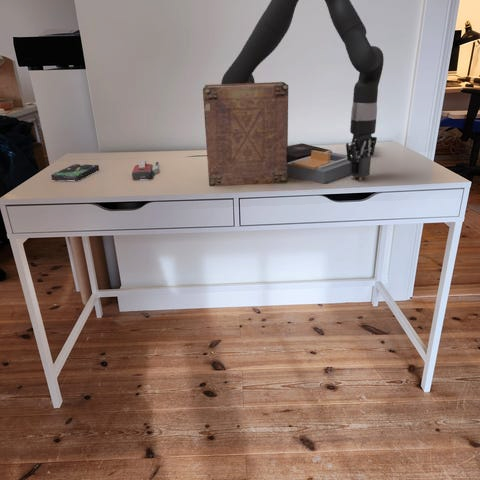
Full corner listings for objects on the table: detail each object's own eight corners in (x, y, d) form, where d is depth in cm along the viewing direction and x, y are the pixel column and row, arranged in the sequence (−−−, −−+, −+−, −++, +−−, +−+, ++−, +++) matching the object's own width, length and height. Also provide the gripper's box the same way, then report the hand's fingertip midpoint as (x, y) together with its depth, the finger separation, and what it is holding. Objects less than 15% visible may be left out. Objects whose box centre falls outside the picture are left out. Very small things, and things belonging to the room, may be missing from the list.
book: (208, 186, 141) (201, 87, 128) (209, 178, 149) (203, 84, 137) (287, 183, 141) (288, 84, 128) (284, 175, 149) (285, 81, 137)
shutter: (292, 165, 145) (292, 155, 143) (310, 159, 151) (311, 149, 149) (314, 169, 139) (314, 159, 137) (332, 163, 145) (333, 153, 143)
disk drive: (75, 171, 166) (51, 182, 153) (74, 164, 165) (50, 174, 152) (100, 171, 164) (78, 183, 151) (99, 164, 163) (76, 175, 150)
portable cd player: (300, 152, 180) (300, 143, 178) (330, 160, 167) (330, 150, 165) (268, 159, 172) (268, 149, 170) (296, 168, 158) (297, 157, 157)
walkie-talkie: (157, 180, 150) (160, 166, 168) (156, 168, 148) (159, 154, 166) (131, 182, 149) (137, 167, 167) (129, 169, 147) (135, 156, 165)
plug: (348, 178, 142) (350, 153, 139) (356, 175, 145) (358, 150, 142) (361, 181, 139) (363, 155, 136) (369, 178, 142) (371, 152, 139)
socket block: (285, 174, 149) (285, 160, 147) (325, 162, 163) (325, 149, 161) (323, 183, 138) (324, 169, 136) (362, 169, 152) (363, 155, 150)
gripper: (365, 113, 141) (361, 165, 148) (339, 119, 133) (336, 174, 140) (387, 115, 136) (381, 169, 143) (361, 121, 127) (356, 178, 134)
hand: (359, 171), depth 141 cm, fingers closed on plug, 4 cm apart
